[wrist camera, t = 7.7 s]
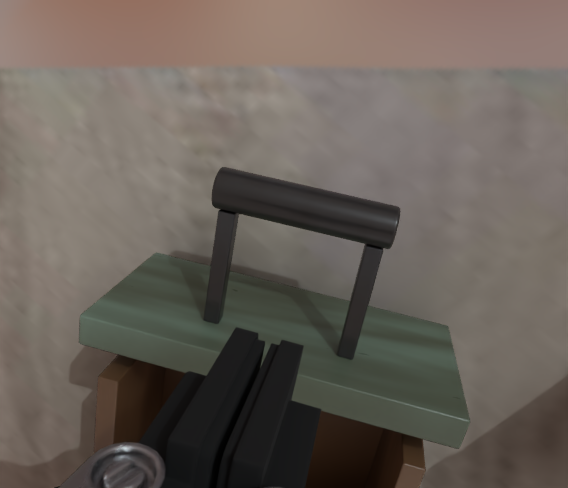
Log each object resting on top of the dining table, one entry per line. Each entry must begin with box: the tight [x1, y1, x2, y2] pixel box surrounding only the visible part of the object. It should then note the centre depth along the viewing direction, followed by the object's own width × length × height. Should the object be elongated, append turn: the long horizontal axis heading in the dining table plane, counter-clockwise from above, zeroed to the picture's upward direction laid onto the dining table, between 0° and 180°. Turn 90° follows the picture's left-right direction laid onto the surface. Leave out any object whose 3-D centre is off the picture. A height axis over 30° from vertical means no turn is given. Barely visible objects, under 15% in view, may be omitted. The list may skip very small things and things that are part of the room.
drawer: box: [79, 167, 470, 488], centre depth 21 cm, size 20×13×6 cm, turn 169°
